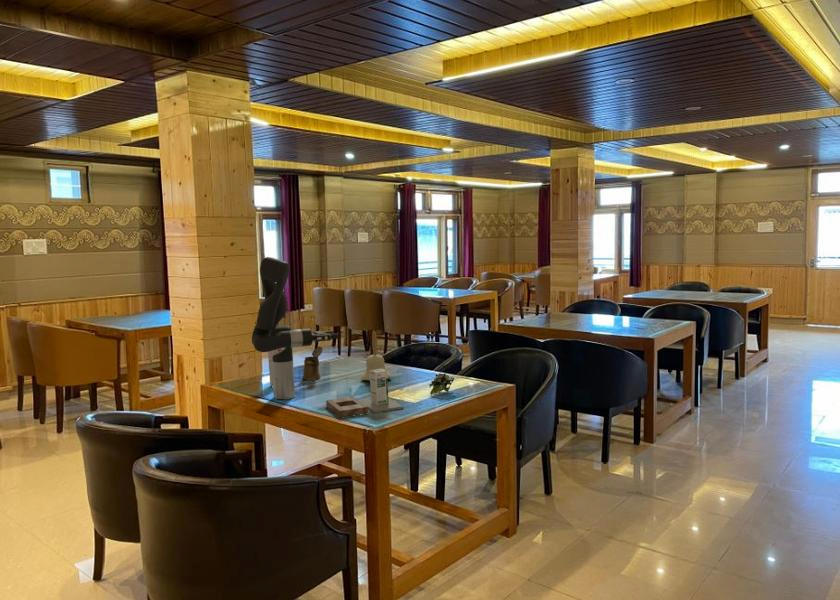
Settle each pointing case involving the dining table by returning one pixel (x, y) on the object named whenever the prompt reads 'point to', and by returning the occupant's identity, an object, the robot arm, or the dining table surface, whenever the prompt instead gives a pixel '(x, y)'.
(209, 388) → the dining table surface
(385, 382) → the syrup box
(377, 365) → the handbell
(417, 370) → the dining table surface
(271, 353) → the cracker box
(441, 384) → the green leafy plant
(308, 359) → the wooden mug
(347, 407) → the pocket block
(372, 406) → the slate tile
